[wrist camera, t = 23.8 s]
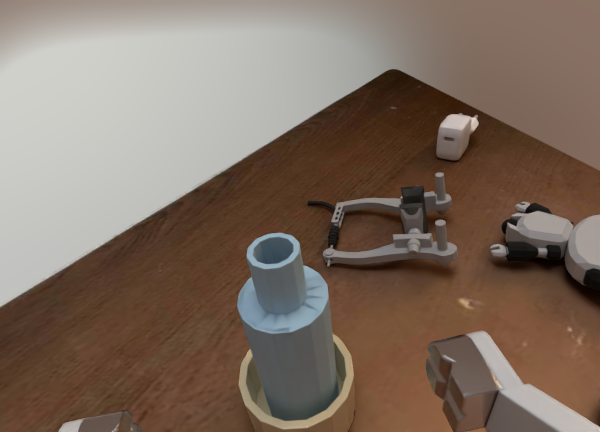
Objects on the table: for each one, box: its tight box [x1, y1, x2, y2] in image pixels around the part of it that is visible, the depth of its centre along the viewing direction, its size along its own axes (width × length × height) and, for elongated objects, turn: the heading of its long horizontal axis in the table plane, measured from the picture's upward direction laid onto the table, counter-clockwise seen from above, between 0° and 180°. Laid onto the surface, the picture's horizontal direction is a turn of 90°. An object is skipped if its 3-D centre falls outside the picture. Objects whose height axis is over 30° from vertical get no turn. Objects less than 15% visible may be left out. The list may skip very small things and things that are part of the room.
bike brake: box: [308, 173, 457, 267], centre depth 49 cm, size 14×7×20 cm
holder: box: [239, 333, 356, 432], centre depth 32 cm, size 9×9×5 cm
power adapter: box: [436, 113, 479, 160], centre depth 65 cm, size 11×5×6 cm, turn 146°
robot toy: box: [490, 202, 600, 291], centre depth 42 cm, size 12×4×15 cm
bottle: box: [237, 233, 339, 421], centre depth 28 cm, size 6×6×17 cm
